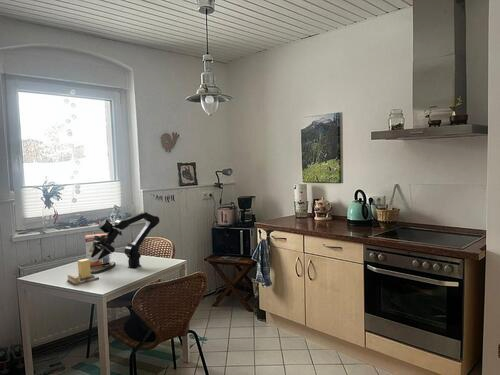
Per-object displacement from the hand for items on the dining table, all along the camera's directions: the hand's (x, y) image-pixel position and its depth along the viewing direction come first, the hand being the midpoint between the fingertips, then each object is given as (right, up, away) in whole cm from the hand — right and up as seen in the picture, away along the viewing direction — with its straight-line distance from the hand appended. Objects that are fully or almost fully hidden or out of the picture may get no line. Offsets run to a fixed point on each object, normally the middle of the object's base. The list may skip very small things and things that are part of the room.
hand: (95, 258), depth 228 cm
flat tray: (-4, -12, -4) cm, 13 cm away
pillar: (-4, -11, -4) cm, 13 cm away
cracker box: (-10, -10, +30) cm, 33 cm away
